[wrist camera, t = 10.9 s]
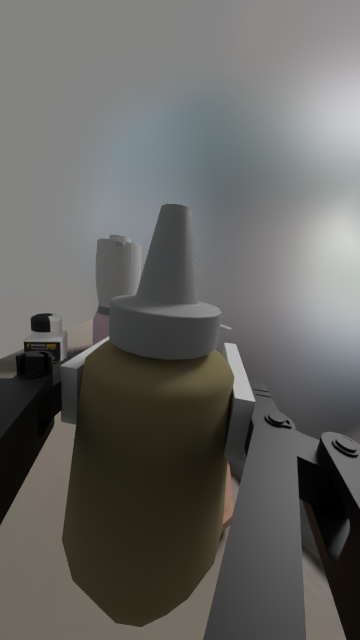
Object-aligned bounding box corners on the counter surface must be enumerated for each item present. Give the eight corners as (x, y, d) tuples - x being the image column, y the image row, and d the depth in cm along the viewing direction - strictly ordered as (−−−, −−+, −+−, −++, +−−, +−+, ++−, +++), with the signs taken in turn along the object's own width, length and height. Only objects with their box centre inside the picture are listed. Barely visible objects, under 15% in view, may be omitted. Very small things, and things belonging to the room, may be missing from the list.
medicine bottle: (25, 370, 47) (21, 318, 44) (36, 356, 53) (34, 310, 50) (60, 369, 49) (60, 319, 46) (67, 356, 55) (67, 312, 53)
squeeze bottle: (19, 621, 9) (-29, 149, 5) (117, 464, 17) (130, 225, 13) (200, 729, 7) (356, 143, 3) (217, 499, 15) (270, 236, 11)
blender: (138, 362, 57) (147, 238, 49) (90, 363, 53) (92, 229, 46) (133, 341, 71) (139, 243, 64) (94, 341, 67) (97, 237, 60)
